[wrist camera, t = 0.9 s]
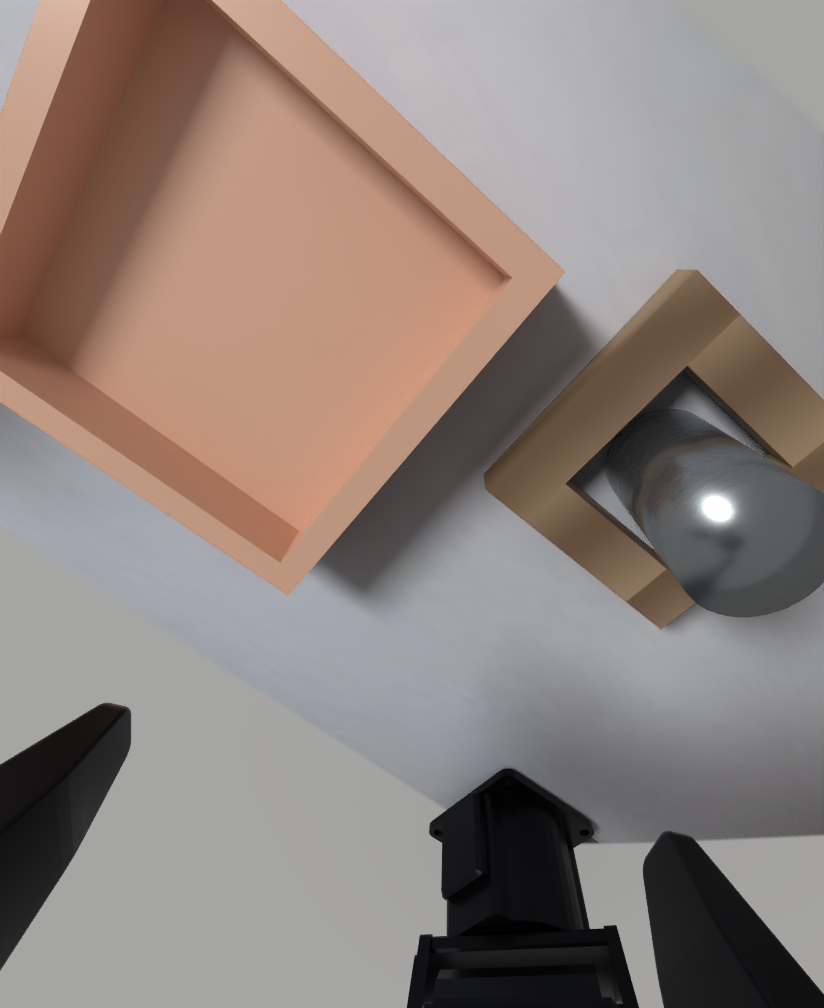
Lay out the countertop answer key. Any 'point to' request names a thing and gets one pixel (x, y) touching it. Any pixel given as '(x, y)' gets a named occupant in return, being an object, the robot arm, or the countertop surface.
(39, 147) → the terracotta tray
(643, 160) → the countertop surface
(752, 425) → the walnut collar
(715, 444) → the gunmetal pin
